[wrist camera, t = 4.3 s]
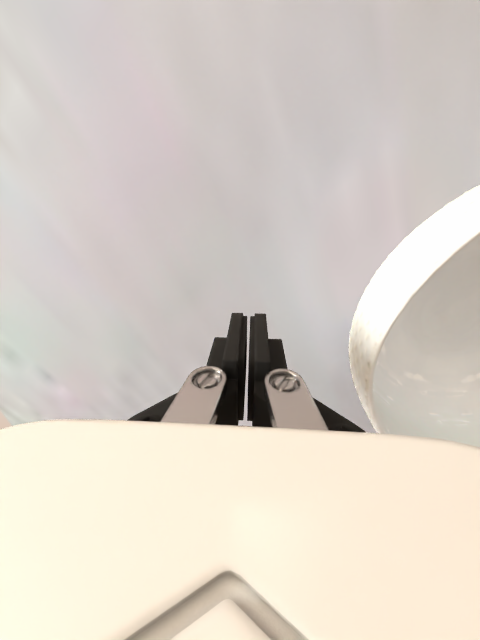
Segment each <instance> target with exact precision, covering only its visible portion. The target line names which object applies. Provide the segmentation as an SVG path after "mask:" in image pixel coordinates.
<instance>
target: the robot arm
mask: <svg viewBox="0 0 480 640" xmlns="http://www.w3.org/2000/svg"><path fill="white" fill-rule="evenodd" d="M246 351H247V316H243V313H232V316H231V321H230V325H229V330H228V335H227V338H219V337H215V339H214V342H213V346H212V349H211V352H210V356H209V359H208V362H207V366H204V367H200V368H197V369H195V370H194V371H192V372H191V373H190V375H189V376H188V378H187V379H186V381H185V382H184V384H183V386H182V387H181V389H180V391H179V392H178V393H176V394H174V395H172V396H170V397H169V398H167V399H165V400H163V401H161V402H159V403H157V404H155V405H154V406H152V407H150V408H148V409H146V410H144V411H142V412H140V413H138V414H137V415H135V416H133V417H131V418H130V419H128V420H127V421H125V420H102V419H57V420H44V421H37V422H30V423H24V424H20V425H15V426H11V427H8V428H3V429H0V640H480V447H476V446H472V445H468V444H464V443H460V442H455V441H450V440H444V439H437V438H430V437H419V436H407V435H396V434H381V433H366V432H365V431H364V430H362V429H361V428H360V427H358V426H357V425H355V424H354V423H352V422H350V421H349V420H347V419H346V418H344V417H343V416H341V415H339V414H338V413H336V412H335V411H333V410H332V409H330V408H328V407H327V406H325V405H324V404H322V403H321V402H319V401H317V400H316V399H314V398H313V397H312V396H311V394H310V392H309V390H308V388H307V386H306V384H305V382H304V380H303V378H302V377H301V376H300V375H299V374H297V373H296V372H294V371H292V370H288V369H287V365H286V360H285V354H284V349H283V344H282V340H281V339H268V332H267V322H266V314H255V316H251V317H250V343H249V373H248V416H247V421H252V426H238V420H243V416H244V397H245V379H246Z"/></svg>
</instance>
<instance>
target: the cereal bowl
mask: <svg viewBox="0 0 480 640" xmlns="http://www.w3.org/2000/svg"><path fill="white" fill-rule="evenodd" d="M349 334H350V342H349V347H348V348H349V361H350V365H351V366H350V370H351V373H352V379H353V383H354V385H355V387H356V391H357V394H358V396H359V397H360V402H361V404H362V406H363V407H364V409H365V412H366V415H367V416H368V418H369V419H370V421H371V424H372V426H373V428H374V429H375V430H376V431H377V433H381V434H396V435H407V436H419V437H430V438H437V439H444V440H450V441H455V442H460V443H464V444H468V445H472V446H476V447H480V185H479V186H477V187H475V188H472V189H471V190H469V191H467V192H465V193H464V194H463V195H461V196H460V197H459V198H457V199H455V200H453V201H452V202H450V203H448V204H446V205H445V206H444V207H443V208H442V209H440V210H438V211H437V212H436V213H435V214H433V215H432V216H431V217H430V218H428V219H427V220H425V221H424V222H423V223H422V224H421V225H420V226H418V227H417V228H416V229H415V230H413V232H412V233H411V234H410V235H408V236H407V237H405V238H404V240H403V241H402V243H400V244H399V245H398V246H397V247H396V248H395V250H394V251H393V252H392V253H390V254H389V256H388V257H387V259H386V260H385V261H384V262H383V263H382V265H381V267H380V268H379V269H378V270H377V271H376V273H375V275H374V277H373V278H372V279H371V281H370V284H369V285H368V286H367V287H366V288H365V292H364V294H363V295H362V298H361V299H360V302H359V304H358V307H357V309H356V313H355V314H354V319H353V321H352V329H351V331H350V333H349Z"/></svg>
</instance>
